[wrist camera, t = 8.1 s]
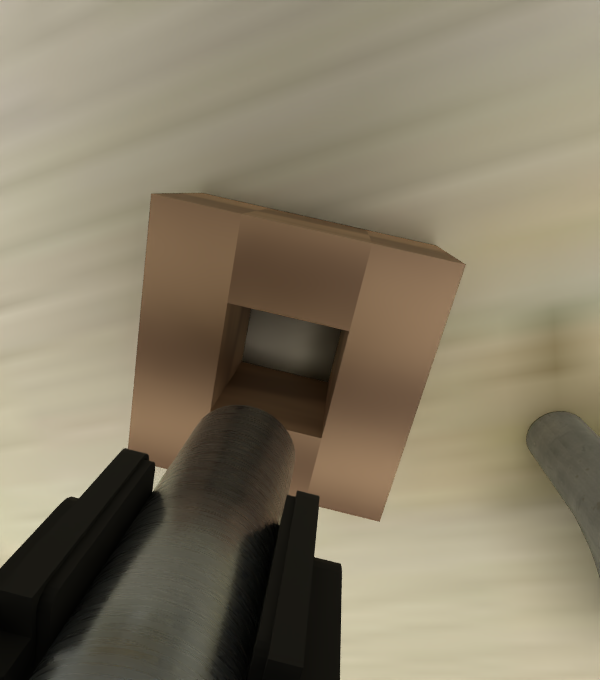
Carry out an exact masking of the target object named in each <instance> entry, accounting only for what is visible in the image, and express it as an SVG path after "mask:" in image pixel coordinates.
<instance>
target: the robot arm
mask: <svg viewBox="0 0 600 680" xmlns="http://www.w3.org/2000/svg"><path fill="white" fill-rule="evenodd" d="M154 473H155V462H152V461H149V455H148V454H147V453H143V452H138V451H134V450H130V449H126V448H125V449H123V450H122V451H121V452H120V453H119V454H118V455H117V456H116V457H115V459H114V460H113V461H112V462H111V463H110V464H109V465H108V466H107V468H106V469H105V470H104V471H103V472H102V473H101V474H100V475H99V477H98V478H97V479H96V480H95V481H94V482H93V483H92V484H91V486H90V487H89V488H88V489H87V490H86V491H85V492H84V493H83V495H82V496H81V497H80V498H75V497H69V498H66V499H65V500H64V501H63V502H62V503H61V504H60V505H59V506H58V507H57V508H56V509H55V510H54V511H53V512H52V513H51V514H50V516H49V517H48V518H47V519H46V520H45V521H44V522H43V523H42V524H41V525H40V526H39V527H38V528H37V529H36V531H35V532H34V533H33V534H32V535H31V536H30V537H29V538H28V539H27V540H26V541H25V542H24V543H23V544H22V546H21V547H20V548H19V549H18V550H17V551H16V552H15V553H14V554H13V555H12V556H11V557H10V558H9V559H8V561H7V562H6V563H5V564H4V565H3V566H2V567H1V568H0V680H29V678H30V677H31V675H32V674H33V672H34V671H35V669H36V668H37V666H38V665H39V663H40V662H41V660H42V659H43V657H44V656H45V654H46V653H47V651H48V650H49V648H50V646H51V645H52V643H53V642H54V640H55V639H56V637H57V636H58V634H59V633H60V631H61V630H62V628H63V627H64V625H65V624H66V622H67V621H68V619H69V618H70V616H71V615H72V613H73V612H74V610H75V609H76V607H77V606H78V604H79V603H80V601H81V600H82V598H83V597H84V595H85V594H86V592H87V591H88V589H89V588H90V586H91V585H92V583H93V581H94V580H95V578H96V577H97V575H98V574H99V572H100V571H101V569H102V568H103V566H104V565H105V563H106V562H107V560H108V559H109V557H110V556H111V554H112V553H113V551H114V550H115V548H116V547H117V545H118V544H119V542H120V541H121V539H122V538H123V536H124V535H125V533H126V532H127V530H128V529H129V527H130V526H131V524H132V523H133V521H134V520H135V518H136V516H137V515H138V513H139V512H140V510H141V509H142V507H143V506H144V504H145V503H146V501H147V500H148V498H149V497H150V495H151V494H152V489H153V481H154ZM319 499H320V497H319V496H318V495H314V494H310V493H306V492H302V491H298V490H297V492H296V496H291V495H287V496H286V500H285V504H284V509H283V513H282V517H281V521H280V525H279V530H278V535H277V539H276V544H275V549H274V554H273V558H272V563H271V568H270V573H269V578H268V582H267V587H266V592H265V597H264V601H263V606H262V611H261V616H260V620H259V625H258V630H257V635H256V639H255V644H254V649H253V654H252V659H251V663H250V668H249V673H248V678H247V680H340V644H341V589H342V567H341V564H339V563H335V562H331V561H327V560H323V559H319V558H315V557H314V551H315V541H316V530H317V520H318V510H319Z"/></svg>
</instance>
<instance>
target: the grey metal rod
mask: <svg viewBox="0 0 600 680" xmlns="http://www.w3.org/2000/svg"><path fill="white" fill-rule="evenodd" d="M294 464H295V448H294V444H293V441H292V439H291V436H290V434H289V433H288V431H287V430H286V428H285V427H284V426H283V425H282V423H280V422H279V421H278V420H277V419H276V418H275V417H273V416H272V415H271V414H269V413H267V412H265V411H263V410H261V409H259V408H255V407H252V406H247V405H229V406H224V407H220V408H217V409H215V410H213V411H211V412H210V413H208V414H207V415H206V416H205V417H203V418H202V419H201V421H200V422H199V423H198V424H197V426H196V427H195V429H194V430H193V432H192V433H191V435H190V436H189V438H188V439H187V441H186V442H185V444H184V445H183V447H182V448H181V450H180V451H179V453H178V455H177V456H176V458H175V459H174V461H173V462H172V464H171V465H170V467H169V468H168V470H167V471H166V473H165V474H164V476H163V477H162V479H161V480H160V482H159V483H158V485H157V486H156V488H155V489H154V491H153V492H152V494H151V495H150V497H149V498H148V500H147V501H146V503H145V504H144V506H143V507H142V509H141V510H140V512H139V513H138V515H137V516H136V518H135V520H134V521H133V523H132V524H131V526H130V527H129V529H128V530H127V532H126V533H125V535H124V536H123V538H122V539H121V541H120V542H119V544H118V545H117V547H116V548H115V550H114V551H113V553H112V554H111V556H110V557H109V559H108V560H107V562H106V563H105V565H104V566H103V568H102V569H101V571H100V572H99V574H98V575H97V577H96V578H95V580H94V581H93V583H92V585H91V586H90V588H89V589H88V591H87V592H86V594H85V595H84V597H83V598H82V600H81V601H80V603H79V604H78V606H77V607H76V609H75V610H74V612H73V613H72V615H71V616H70V618H69V619H68V621H67V622H66V624H65V625H64V627H63V628H62V630H61V631H60V633H59V634H58V636H57V637H56V639H55V640H54V642H53V643H52V645H51V646H50V648H49V650H48V651H47V653H46V654H45V656H44V657H43V659H42V660H41V662H40V663H39V665H38V666H37V668H36V669H35V671H34V672H33V674H32V675H31V677H30V678H29V680H247V678H248V673H249V668H250V663H251V659H252V654H253V649H254V644H255V639H256V635H257V630H258V625H259V620H260V616H261V611H262V606H263V601H264V597H265V592H266V587H267V582H268V578H269V573H270V568H271V563H272V558H273V554H274V549H275V544H276V539H277V535H278V530H279V525H280V521H281V517H282V513H283V509H284V504H285V500H286V496H287V495H288V494H289V489H290V484H291V479H292V474H293V469H294Z"/></svg>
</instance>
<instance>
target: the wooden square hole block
mask: <svg viewBox="0 0 600 680" xmlns="http://www.w3.org/2000/svg"><path fill="white" fill-rule="evenodd" d="M465 265H466V264H464V263H462V262H461V261H459V260H458V259H456V258H455V257H453V256H451V255H450V254H448V253H447V252H445V251H444V250H442V249H441V248H439V247H437V246H435V245H431V244H426V243H422V242H418V241H413V240H409V239H404V238H400V237H395V236H391V235H386V234H382V233H378V232H373V231H369V230H364V229H360V228H355V227H351V226H346V225H342V224H337V223H333V222H329V221H324V220H320V219H315V218H311V217H306V216H302V215H297V214H293V213H289V212H284V211H280V210H275V209H271V208H266V207H262V206H257V205H253V204H248V203H244V202H240V201H235V200H231V199H226V198H222V197H217V196H213V195H208V194H204V193H162V194H151V203H150V214H149V225H148V236H147V247H146V258H145V269H144V280H143V290H142V301H141V312H140V323H139V334H138V345H137V356H136V367H135V378H134V389H133V400H132V411H131V422H130V433H129V444H128V449H130V450H134V451H138V452H143V453H147V454H148V455H149V461H152V462H155V466H157V467H161V468H165V469H168V468H169V467H170V465H171V464H172V462H173V461H174V459H175V458H176V456H177V455H178V453H179V451H180V450H181V448H182V447H183V445H184V444H185V442H186V441H187V439H188V438H189V436H190V435H191V433H192V432H193V430H194V429H195V427H196V426H197V424H198V423H199V422H200V421H201V419H202V418H203V417H205V416H206V415H207V414H208V413H210V412H211V411H213V410H215V409H217V408H220V407H224V406H229V405H247V406H252V407H255V408H259V409H261V410H263V411H265V412H267V413H269V414H271V415H272V416H273V417H275V418H276V419H277V420H278V421H279V422H280V423H282V425H283V426H284V427H285V428H286V430H287V431H288V433H289V434H290V436H291V439H292V441H293V444H294V448H295V464H294V469H293V474H292V479H291V484H290V489H289V494H288V495H291V496H296V492H297V490H298V491H302V492H306V493H310V494H314V495H318V496H319V497H320V499H319V507H323V508H327V509H331V510H335V511H339V512H343V513H347V514H351V515H355V516H359V517H363V518H367V519H371V520H375V521H379V522H380V519H381V516H382V513H383V510H384V507H385V504H386V501H387V498H388V495H389V492H390V489H391V486H392V483H393V480H394V477H395V474H396V471H397V468H398V465H399V462H400V459H401V456H402V453H403V450H404V447H405V444H406V441H407V438H408V435H409V432H410V429H411V426H412V423H413V420H414V417H415V414H416V411H417V408H418V405H419V402H420V399H421V396H422V393H423V390H424V387H425V384H426V381H427V378H428V375H429V372H430V369H431V366H432V363H433V360H434V357H435V354H436V351H437V348H438V346H439V343H440V340H441V337H442V334H443V331H444V328H445V325H446V322H447V319H448V316H449V313H450V310H451V307H452V304H453V301H454V298H455V295H456V292H457V289H458V286H459V283H460V280H461V277H462V274H463V271H464V268H465ZM251 308H252V309H256V310H260V311H264V312H269V313H273V314H277V315H282V316H286V317H290V318H295V319H299V320H303V321H307V322H312V323H316V324H320V325H325V326H329V327H333V328H337V329H342V330H341V334H340V338H339V342H338V346H337V350H336V354H335V358H334V362H333V366H332V370H331V374H330V377H329V381H328V382H325V381H321V380H316V379H312V378H308V377H304V376H299V375H295V374H291V373H287V372H283V371H278V370H274V369H270V368H266V367H262V366H257V365H253V364H249V363H245V362H242V358H243V352H244V347H245V341H246V335H247V330H248V324H249V318H250V313H251Z"/></svg>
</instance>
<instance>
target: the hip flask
mask: <svg viewBox="0 0 600 680" xmlns="http://www.w3.org/2000/svg"><path fill="white" fill-rule="evenodd" d="M526 441H527V446H528V449H529V450H530V452H531V453H532V455H533V456H534V458H535V459H536V461H537V462H538V463H539V465H540V466H541V468H542V469H543V471H544V472H545V474H546V475H547V476H548V478H549V479H550V481H551V482H552V484H553V485H554V487H555V488H556V490H557V491H558V492H559V494H560V495H561V497H562V498H563V500H564V501H565V503H566V504H567V506H568V507H569V508H570V510H571V511H572V513H573V514H574V516H575V518H576V520H577V522H578V524H579V526H580V528H581V530H582V532H583V534H584V536H585V538H586V540H587V543H588V545H589V547H590V550H591V552H592V555H593V558H594V560H595V563H596V566H597V569H598V573H599V576H600V437H599V436H598V435H597V434H596V433H595V432H594V431H593V430H592V429H591V428H590V427H589V426H588V425H587V424H586V423H585V422H584V421H583V420H582V419H581V418H580V417H578V416H576V415H575V414H572V413H569V412H552V413H549V414H546V415H544V416H542V417H540V418H539V419H537V420H536V421H535V422H534V423H533V424H532V425H531V427H530V429H529V430H528V433H527V439H526Z"/></svg>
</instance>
